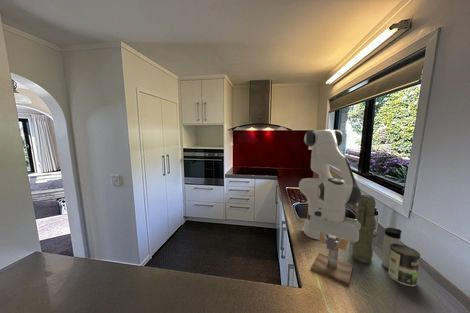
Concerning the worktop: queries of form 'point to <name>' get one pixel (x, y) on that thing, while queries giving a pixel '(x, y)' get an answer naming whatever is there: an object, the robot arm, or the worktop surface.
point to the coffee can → (403, 264)
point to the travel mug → (390, 238)
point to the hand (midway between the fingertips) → (331, 243)
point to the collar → (333, 242)
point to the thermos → (365, 229)
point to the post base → (332, 273)
